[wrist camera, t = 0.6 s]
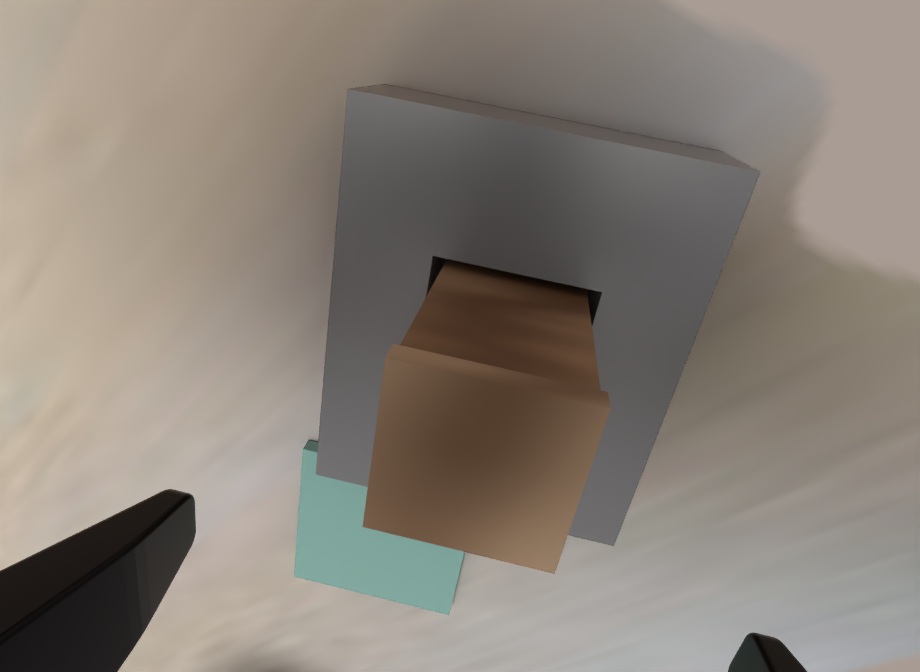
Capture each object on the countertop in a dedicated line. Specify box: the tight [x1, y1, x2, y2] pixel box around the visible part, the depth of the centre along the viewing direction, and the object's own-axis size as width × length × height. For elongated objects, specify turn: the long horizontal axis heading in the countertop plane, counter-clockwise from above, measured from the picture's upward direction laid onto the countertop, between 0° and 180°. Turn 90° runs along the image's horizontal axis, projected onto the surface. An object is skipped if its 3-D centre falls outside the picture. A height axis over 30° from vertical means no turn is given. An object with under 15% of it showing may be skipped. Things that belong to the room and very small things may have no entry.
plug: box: [362, 259, 611, 574], centre depth 16 cm, size 4×4×9 cm
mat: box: [294, 440, 464, 615], centre depth 25 cm, size 7×7×1 cm
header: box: [316, 84, 760, 546], centre depth 18 cm, size 10×12×4 cm
